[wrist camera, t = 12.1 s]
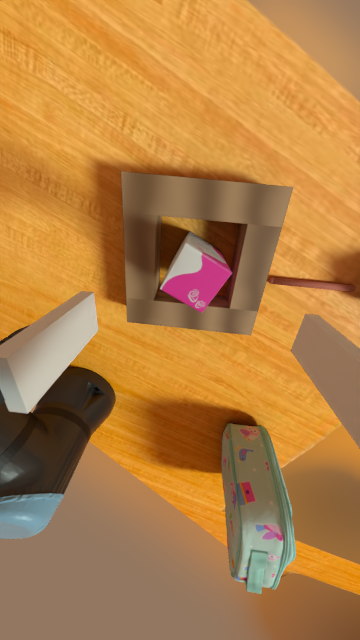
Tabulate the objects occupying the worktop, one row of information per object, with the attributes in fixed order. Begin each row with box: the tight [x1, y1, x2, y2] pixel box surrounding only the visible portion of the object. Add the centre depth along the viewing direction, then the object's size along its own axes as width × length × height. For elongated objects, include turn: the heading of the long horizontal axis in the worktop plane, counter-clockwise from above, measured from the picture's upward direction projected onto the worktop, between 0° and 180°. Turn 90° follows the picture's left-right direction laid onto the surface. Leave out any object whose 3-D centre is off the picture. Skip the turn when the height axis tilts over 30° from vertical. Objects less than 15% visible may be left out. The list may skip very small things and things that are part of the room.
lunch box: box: [222, 423, 296, 594], centre depth 43 cm, size 27×10×21 cm, turn 5°
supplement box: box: [160, 231, 232, 313], centre depth 26 cm, size 6×6×12 cm
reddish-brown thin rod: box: [269, 277, 355, 292], centre depth 31 cm, size 13×1×1 cm, turn 85°
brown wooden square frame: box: [121, 171, 293, 335], centre depth 29 cm, size 19×19×5 cm
